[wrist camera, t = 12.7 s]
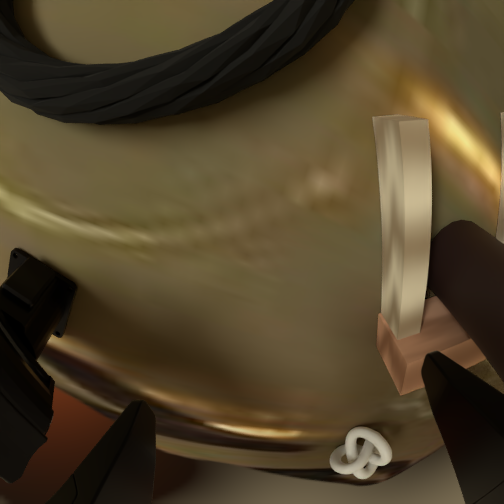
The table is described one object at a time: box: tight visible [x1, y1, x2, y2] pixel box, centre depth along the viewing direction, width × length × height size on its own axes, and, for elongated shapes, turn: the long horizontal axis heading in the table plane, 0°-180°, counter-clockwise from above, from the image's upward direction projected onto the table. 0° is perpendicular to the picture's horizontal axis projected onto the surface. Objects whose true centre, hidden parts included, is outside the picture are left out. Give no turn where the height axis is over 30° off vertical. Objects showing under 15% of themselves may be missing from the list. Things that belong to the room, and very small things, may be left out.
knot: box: [330, 426, 392, 479], centre depth 32 cm, size 8×8×6 cm
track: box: [372, 113, 504, 396], centre depth 19 cm, size 20×15×6 cm
